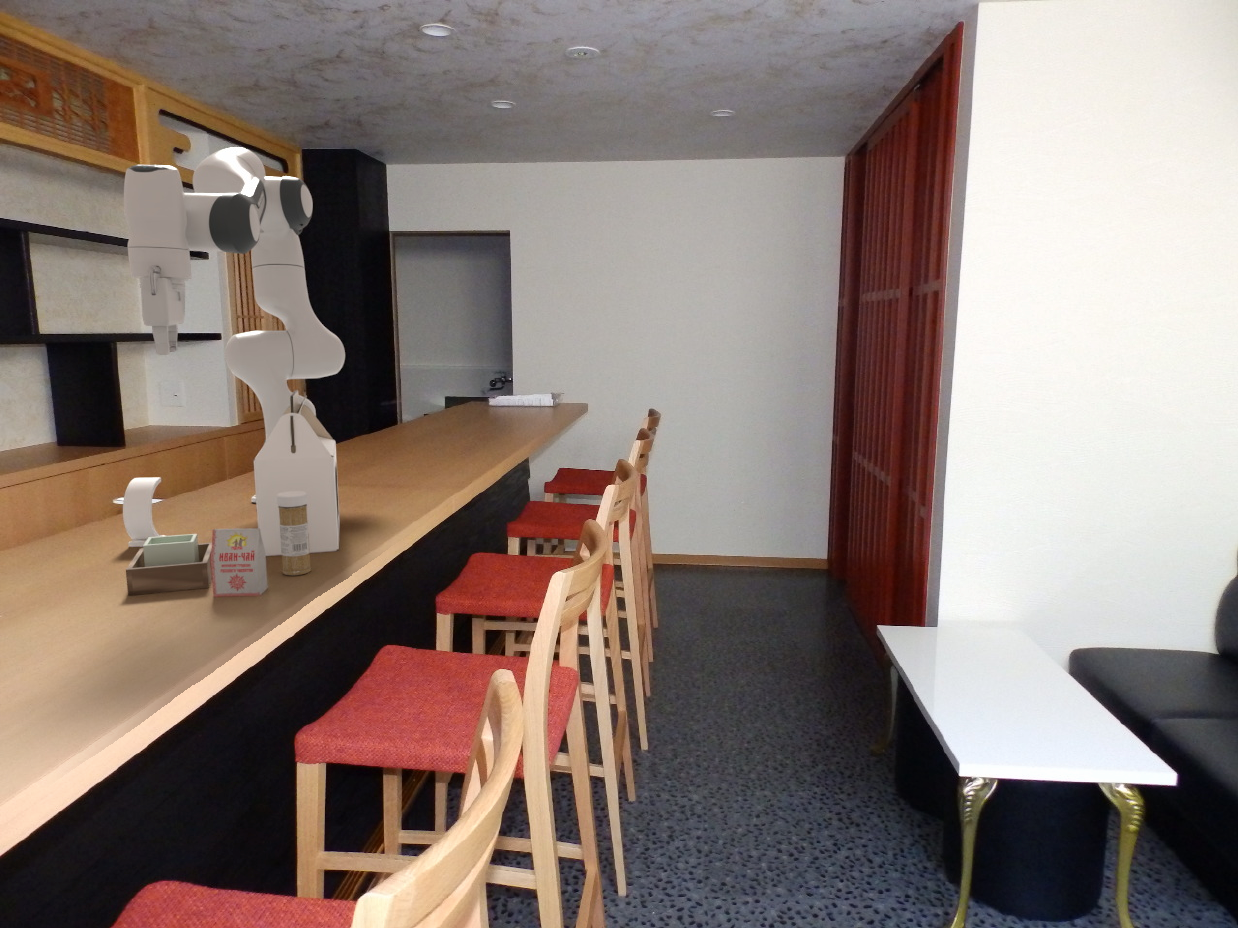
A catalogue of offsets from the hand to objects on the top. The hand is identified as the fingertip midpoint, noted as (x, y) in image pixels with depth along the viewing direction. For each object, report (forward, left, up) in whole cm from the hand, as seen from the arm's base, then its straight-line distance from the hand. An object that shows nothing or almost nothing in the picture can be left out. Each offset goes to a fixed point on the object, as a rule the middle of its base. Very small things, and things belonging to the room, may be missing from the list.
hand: (167, 353), depth 139 cm
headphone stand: (-15, -8, -36) cm, 40 cm away
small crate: (+11, 0, -35) cm, 37 cm away
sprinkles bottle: (+14, +18, -36) cm, 42 cm away
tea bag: (+22, +10, -36) cm, 43 cm away
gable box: (-9, +19, -36) cm, 42 cm away
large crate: (+11, 0, -36) cm, 37 cm away
